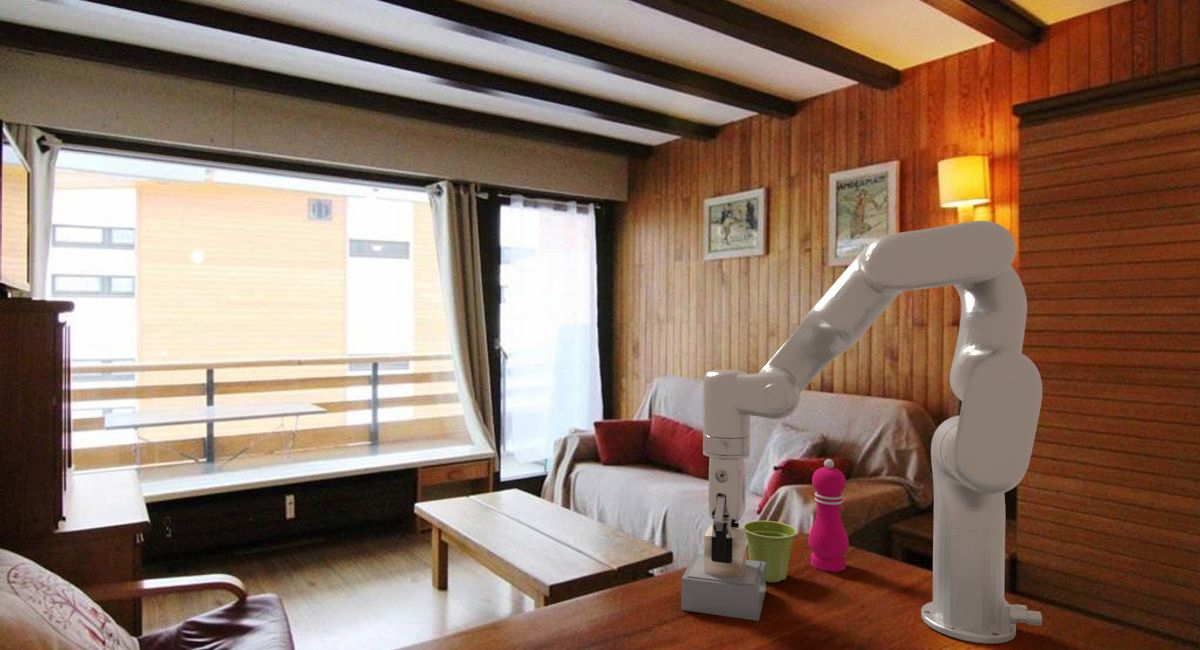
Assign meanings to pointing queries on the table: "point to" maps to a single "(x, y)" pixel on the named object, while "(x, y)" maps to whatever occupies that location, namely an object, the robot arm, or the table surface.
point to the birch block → (738, 554)
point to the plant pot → (770, 546)
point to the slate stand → (724, 590)
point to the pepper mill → (828, 520)
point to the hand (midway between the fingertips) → (725, 552)
